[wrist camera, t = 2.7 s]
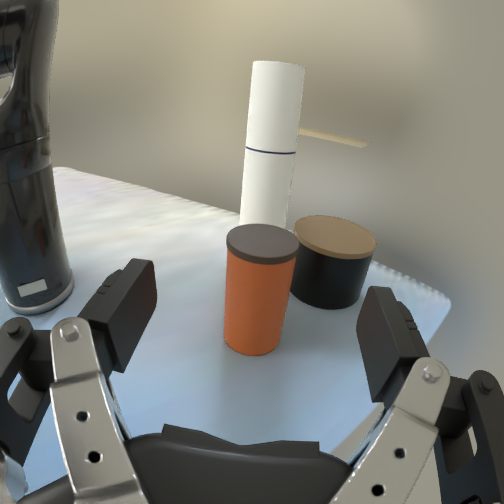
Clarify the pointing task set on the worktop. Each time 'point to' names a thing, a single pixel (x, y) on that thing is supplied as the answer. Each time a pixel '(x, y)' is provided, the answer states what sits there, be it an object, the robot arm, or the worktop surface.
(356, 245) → the black canister
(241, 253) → the orange tin
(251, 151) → the cylindrical container
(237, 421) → the worktop surface
